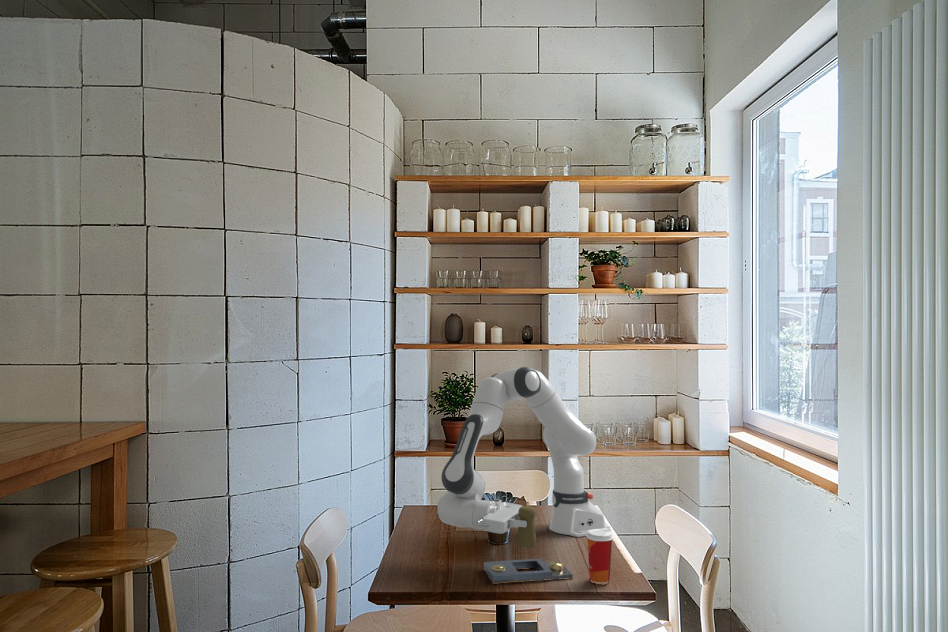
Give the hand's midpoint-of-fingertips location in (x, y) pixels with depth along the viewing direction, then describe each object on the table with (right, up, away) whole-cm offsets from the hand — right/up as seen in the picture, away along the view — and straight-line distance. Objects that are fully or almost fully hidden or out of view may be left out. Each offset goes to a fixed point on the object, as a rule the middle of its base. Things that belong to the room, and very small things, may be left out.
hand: (529, 521), depth 186 cm
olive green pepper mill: (-1, -7, 0) cm, 7 cm away
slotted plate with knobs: (-1, -16, 0) cm, 16 cm away
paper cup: (+20, -16, -5) cm, 26 cm away
